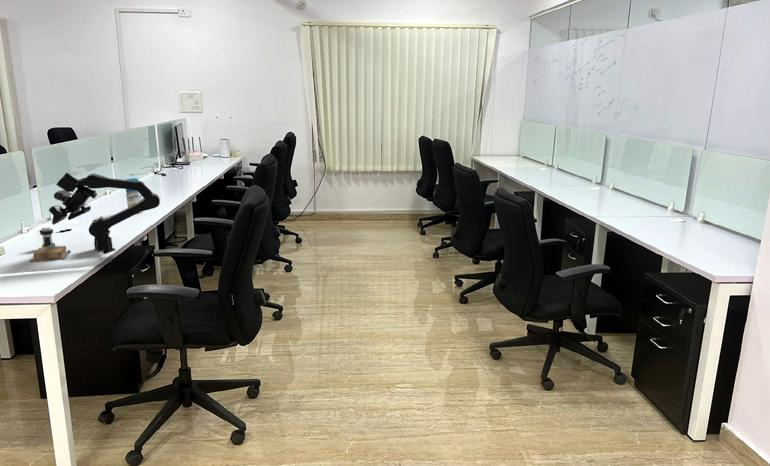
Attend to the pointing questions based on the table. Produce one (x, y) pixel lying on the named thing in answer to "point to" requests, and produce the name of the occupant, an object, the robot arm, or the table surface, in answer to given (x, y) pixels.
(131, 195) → the beverage bottle
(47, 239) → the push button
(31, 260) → the base plate
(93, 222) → the robot arm
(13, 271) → the table surface
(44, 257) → the tan flat square block
